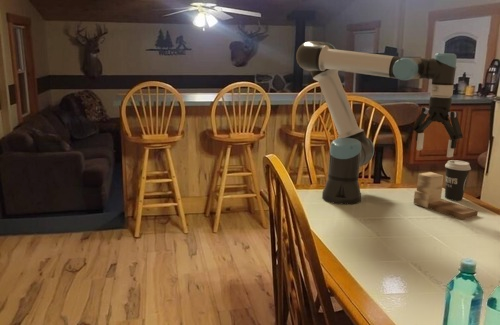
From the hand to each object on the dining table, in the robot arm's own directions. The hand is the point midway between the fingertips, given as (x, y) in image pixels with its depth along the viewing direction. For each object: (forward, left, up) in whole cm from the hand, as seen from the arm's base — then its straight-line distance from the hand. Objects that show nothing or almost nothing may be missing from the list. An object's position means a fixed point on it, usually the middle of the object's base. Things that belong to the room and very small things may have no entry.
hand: (434, 153), depth 177 cm
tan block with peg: (0, +1, -20) cm, 20 cm away
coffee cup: (-1, +17, -20) cm, 27 cm away
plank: (+6, +1, -20) cm, 21 cm away
